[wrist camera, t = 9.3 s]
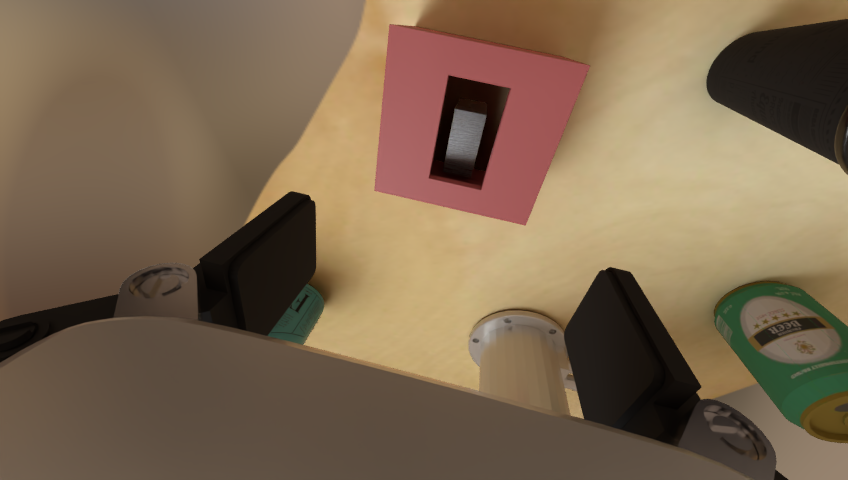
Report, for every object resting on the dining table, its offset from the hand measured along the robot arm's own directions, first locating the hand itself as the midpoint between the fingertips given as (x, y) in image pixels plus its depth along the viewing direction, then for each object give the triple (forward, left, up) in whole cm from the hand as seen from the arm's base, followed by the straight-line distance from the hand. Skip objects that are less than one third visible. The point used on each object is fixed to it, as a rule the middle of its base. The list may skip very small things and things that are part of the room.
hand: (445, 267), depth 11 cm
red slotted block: (0, 0, -22) cm, 22 cm away
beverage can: (-34, +13, -22) cm, 42 cm away
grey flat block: (0, -2, -20) cm, 20 cm away
